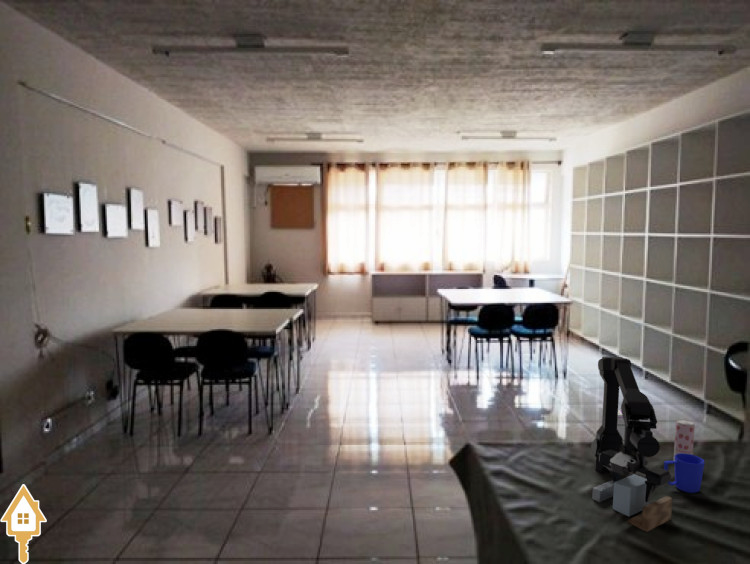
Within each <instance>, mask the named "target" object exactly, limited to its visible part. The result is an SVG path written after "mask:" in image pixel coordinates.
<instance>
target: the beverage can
mask: <svg viewBox="0 0 750 564" xmlns="http://www.w3.org/2000/svg"><path fill="white" fill-rule="evenodd" d="M674 433H675V434H674V435H675V436H674V447H673V448H674V449H673V460H672V461H675V458H674V456H675V455H676V454H680V453H684V454H691V455H694V452H693V451H694V439H695V423H694V421H691V420H688V419H683V418H682V419H677V420H676V423H675V432H674Z"/></svg>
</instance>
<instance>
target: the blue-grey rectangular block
mask: <svg viewBox="0 0 750 564" xmlns="http://www.w3.org/2000/svg"><path fill="white" fill-rule="evenodd" d="M645 481H647V479H646V477H643V476H640V475H637V474H636V473H635V474H634V473H632V474H631V475H627V476H626V477H624V478H622V479H620V480H619V481H616V482H614V494H613V497H612V498H613V499H612V510H614V511H616V512H618V513H620V514H622V515H624V516H627V517H631V516H633V515H635V514H638V513H640V512H641V511H643V507H644V506H646V505H649V504H650V501H649V502H646V501H645V495H646V484H645Z"/></svg>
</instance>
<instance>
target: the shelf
mask: <svg viewBox="0 0 750 564" xmlns="http://www.w3.org/2000/svg"><path fill="white" fill-rule="evenodd" d="M672 506H673V498H672V497H670V496H668V495H666V496H664V497H663V496H662V498H660V499H657V500H654V501H653V502H650V503H649V505H646V506H644V507H643V510H642V512H641V513H639V514H638V515H636V516H634V517H632V518H628V519H627V520H625V523H628V524H630V525H632V526H634V527H636V528H638V529H641V530H643V531H645V532H646V533H648V532H650V531H651V530H653V529H656V528H657V527H659V526H661V525H663V524H665V523H667V522H669V521H670V520H671V519H672V510H673V509H672ZM671 521H672V520H671Z"/></svg>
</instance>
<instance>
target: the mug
mask: <svg viewBox="0 0 750 564" xmlns="http://www.w3.org/2000/svg"><path fill="white" fill-rule="evenodd" d="M674 458H675V461H673V460H665V461H664V462H663V469H664V470H667V471H669V469H668V468H669V465H674V481H673V482H671V481H670V482H667V483H666V484H668V485H670V486H675V487H676V488H677V489H678V490H679V491H682V492H685V493H687V494H688V493H690V494H695V493H699V491H700V490H701V487H702V486H701V485H702V480H703V473H704V468H705V460H704V459H703V458H701V457H700V456H697V455H694V454H693V455H691V454H684V453H680V454H676V455H675V456H674V455H673V459H674Z"/></svg>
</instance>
